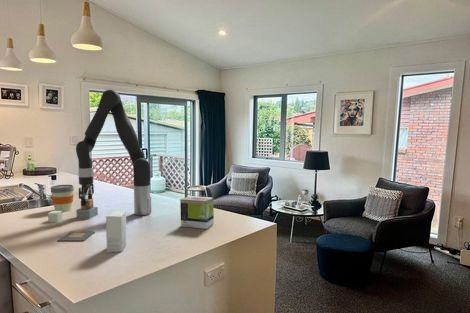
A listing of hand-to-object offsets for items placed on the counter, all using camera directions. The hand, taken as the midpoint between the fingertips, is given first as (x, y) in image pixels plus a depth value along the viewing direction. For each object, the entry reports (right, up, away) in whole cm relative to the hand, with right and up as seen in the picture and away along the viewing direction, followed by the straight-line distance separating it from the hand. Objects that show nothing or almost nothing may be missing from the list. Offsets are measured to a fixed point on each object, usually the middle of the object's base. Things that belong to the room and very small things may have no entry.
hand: (87, 203), depth 182 cm
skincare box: (+35, -12, -47) cm, 60 cm away
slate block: (0, -8, +1) cm, 8 cm away
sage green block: (-14, -8, -8) cm, 18 cm away
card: (+11, -11, -33) cm, 36 cm away
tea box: (+65, -10, -15) cm, 68 cm away
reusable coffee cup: (-21, -6, +14) cm, 26 cm away
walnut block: (0, -3, 0) cm, 3 cm away
